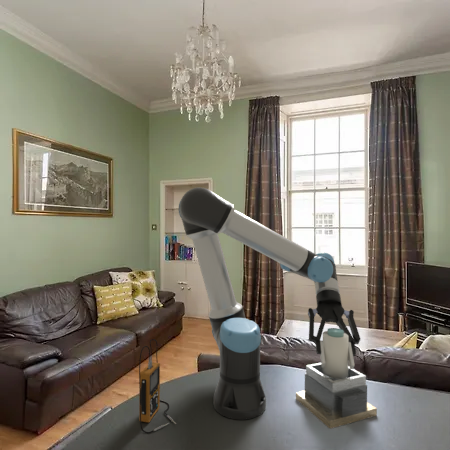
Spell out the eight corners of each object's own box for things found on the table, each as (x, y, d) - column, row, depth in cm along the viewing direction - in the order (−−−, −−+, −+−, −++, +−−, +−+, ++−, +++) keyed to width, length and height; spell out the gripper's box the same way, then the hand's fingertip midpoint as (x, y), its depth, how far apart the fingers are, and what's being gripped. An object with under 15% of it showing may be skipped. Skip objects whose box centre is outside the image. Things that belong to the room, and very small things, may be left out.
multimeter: (169, 437, 78) (170, 355, 78) (132, 431, 80) (132, 352, 80) (188, 404, 93) (189, 335, 93) (156, 400, 95) (156, 332, 95)
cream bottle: (317, 369, 94) (317, 328, 94) (336, 366, 97) (336, 325, 97) (333, 380, 88) (334, 336, 88) (353, 376, 90) (354, 333, 90)
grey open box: (295, 399, 96) (296, 364, 96) (338, 389, 102) (338, 356, 102) (329, 428, 82) (330, 387, 82) (376, 415, 88) (377, 377, 88)
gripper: (357, 302, 106) (372, 374, 90) (296, 299, 109) (300, 369, 93) (362, 289, 101) (379, 363, 85) (297, 287, 103) (302, 358, 87)
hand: (337, 366), depth 89 cm, fingers closed on cream bottle, 7 cm apart
